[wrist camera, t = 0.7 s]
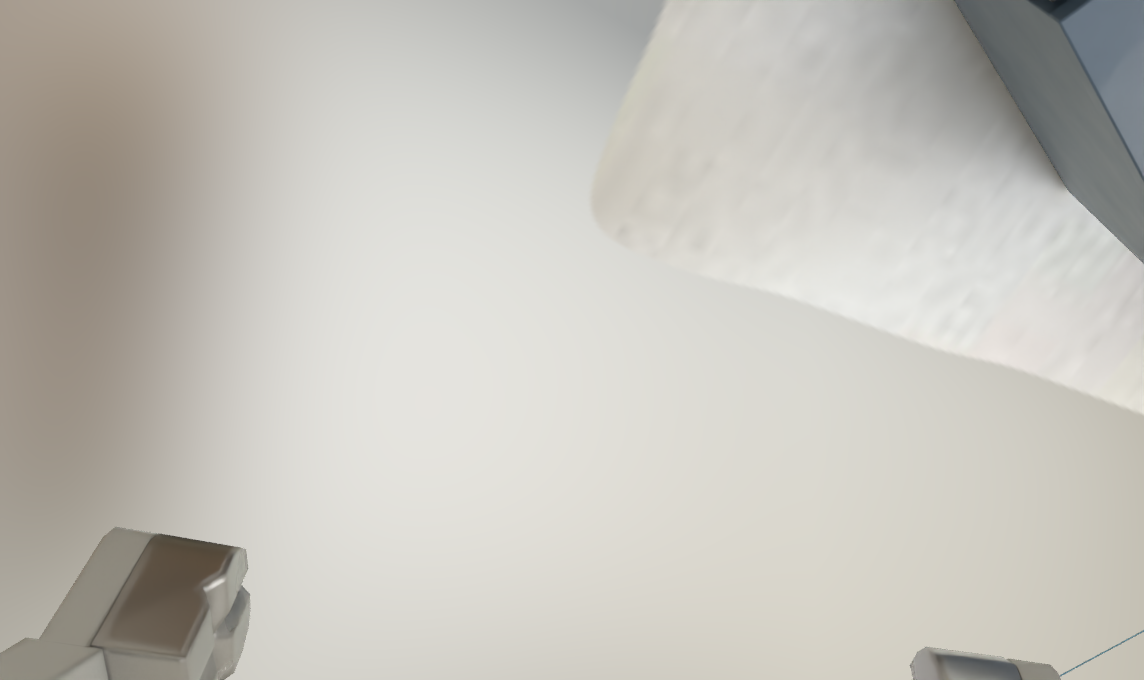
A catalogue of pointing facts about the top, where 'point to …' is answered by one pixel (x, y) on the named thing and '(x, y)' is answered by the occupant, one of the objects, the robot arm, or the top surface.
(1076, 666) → the bust
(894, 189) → the top surface
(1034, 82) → the blue cabinet
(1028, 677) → the robot arm
